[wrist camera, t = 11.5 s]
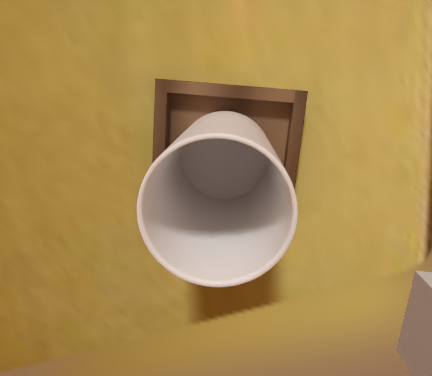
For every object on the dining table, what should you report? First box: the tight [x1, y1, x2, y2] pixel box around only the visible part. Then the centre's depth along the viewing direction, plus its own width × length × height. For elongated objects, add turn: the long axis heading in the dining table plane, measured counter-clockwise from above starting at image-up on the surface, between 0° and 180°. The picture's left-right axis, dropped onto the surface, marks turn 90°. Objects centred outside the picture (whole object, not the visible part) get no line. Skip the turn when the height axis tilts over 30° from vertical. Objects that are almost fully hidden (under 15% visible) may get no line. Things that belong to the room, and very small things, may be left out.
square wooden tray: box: [152, 79, 308, 189], centre depth 35 cm, size 12×12×2 cm
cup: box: [137, 111, 298, 287], centre depth 28 cm, size 8×8×16 cm
